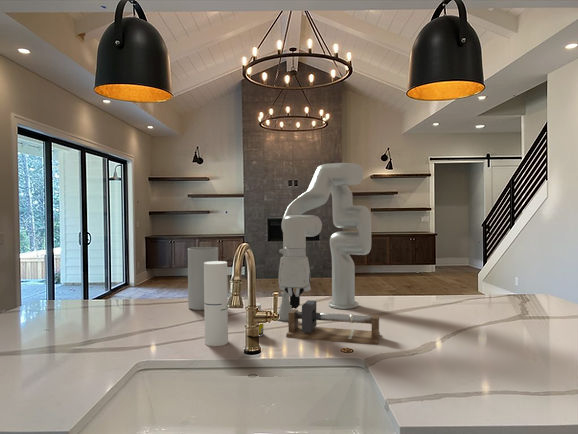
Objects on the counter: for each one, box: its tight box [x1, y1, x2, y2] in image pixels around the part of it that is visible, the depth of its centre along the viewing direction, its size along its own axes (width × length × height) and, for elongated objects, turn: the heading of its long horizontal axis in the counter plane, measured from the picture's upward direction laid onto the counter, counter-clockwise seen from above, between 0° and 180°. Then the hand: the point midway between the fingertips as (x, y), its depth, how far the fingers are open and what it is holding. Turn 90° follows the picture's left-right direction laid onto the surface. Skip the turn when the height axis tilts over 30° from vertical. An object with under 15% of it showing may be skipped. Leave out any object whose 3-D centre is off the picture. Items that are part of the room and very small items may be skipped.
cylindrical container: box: [204, 260, 229, 347], centre depth 129 cm, size 7×7×25 cm
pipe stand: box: [285, 308, 381, 345], centre depth 135 cm, size 29×10×7 cm, turn 74°
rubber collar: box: [301, 299, 318, 332], centre depth 138 cm, size 3×8×8 cm, turn 164°
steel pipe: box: [295, 310, 372, 325], centre depth 135 cm, size 27×3×3 cm, turn 74°
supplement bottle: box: [255, 302, 264, 337], centre depth 137 cm, size 6×6×10 cm
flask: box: [277, 291, 293, 322], centre depth 157 cm, size 7×7×10 cm
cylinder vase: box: [187, 246, 219, 311], centre depth 176 cm, size 12×12×25 cm
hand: (294, 307), depth 139 cm, fingers closed
